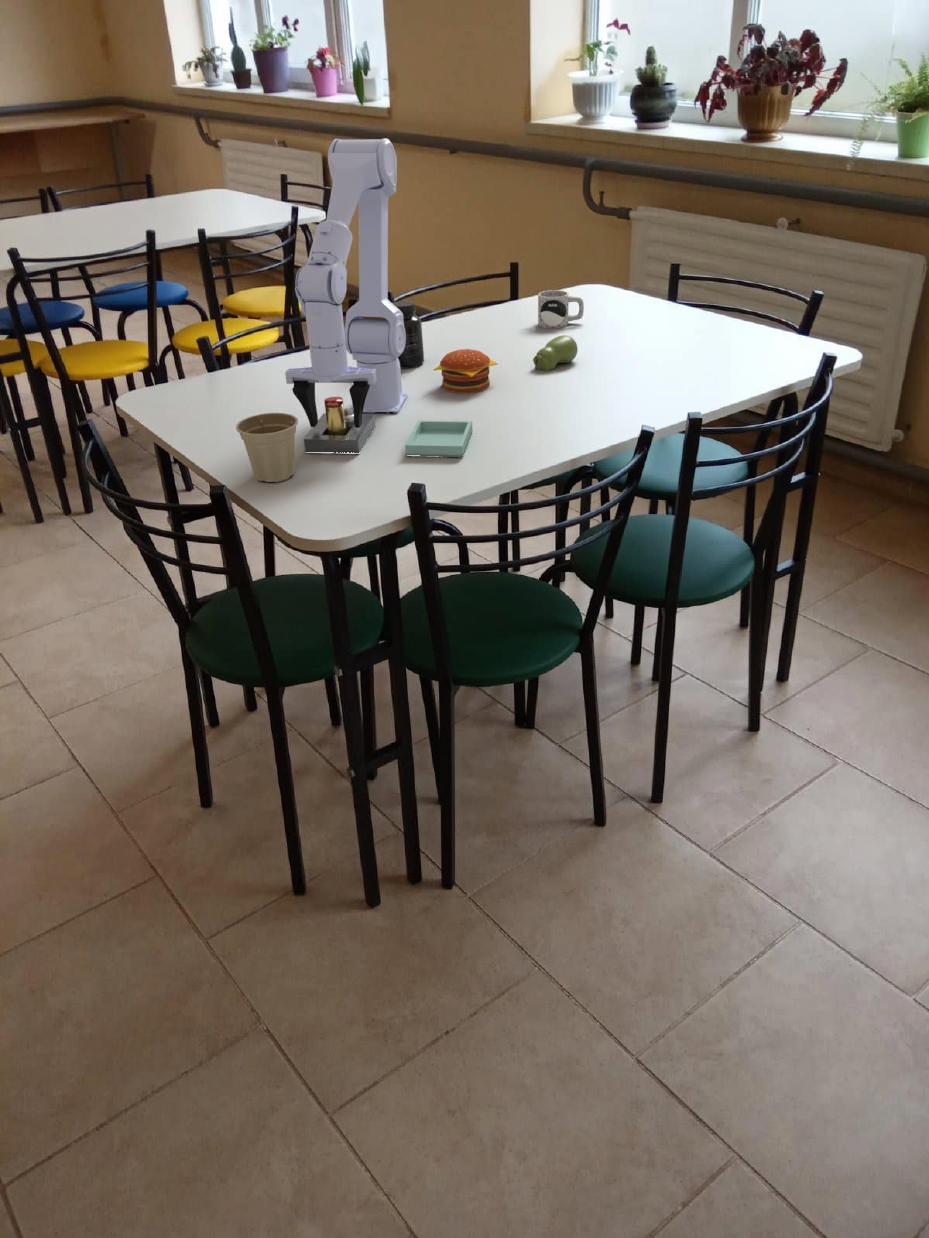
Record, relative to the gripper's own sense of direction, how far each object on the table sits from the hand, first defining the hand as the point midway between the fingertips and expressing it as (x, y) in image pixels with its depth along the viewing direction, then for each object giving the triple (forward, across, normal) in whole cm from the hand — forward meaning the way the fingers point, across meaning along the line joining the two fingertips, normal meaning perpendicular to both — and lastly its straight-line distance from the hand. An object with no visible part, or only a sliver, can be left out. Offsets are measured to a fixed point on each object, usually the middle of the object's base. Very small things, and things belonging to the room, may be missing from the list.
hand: (336, 425), depth 169 cm
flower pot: (+4, -7, -13) cm, 15 cm away
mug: (+4, +32, +73) cm, 80 cm away
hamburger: (+4, +17, +31) cm, 36 cm away
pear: (+4, +33, +44) cm, 55 cm away
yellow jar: (+3, 0, 0) cm, 3 cm away
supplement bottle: (+4, +3, +44) cm, 44 cm away
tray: (+3, +17, +1) cm, 17 cm away
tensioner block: (+3, 0, +2) cm, 4 cm away
